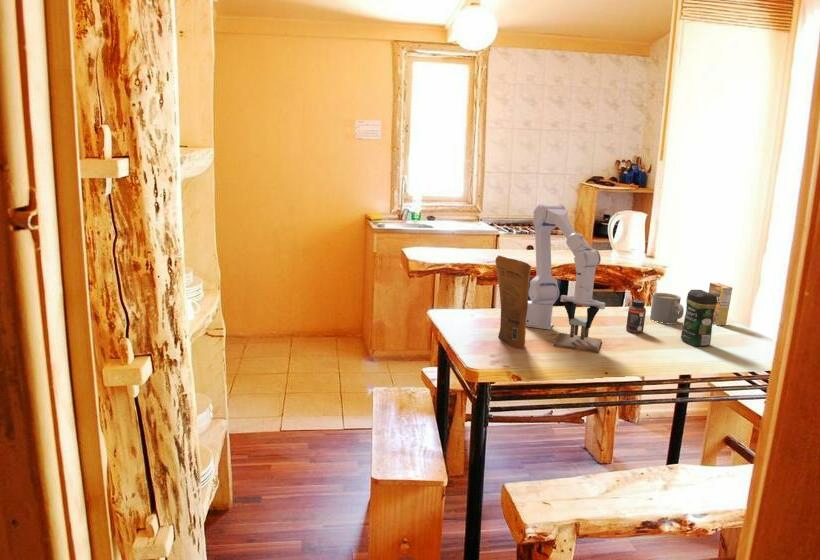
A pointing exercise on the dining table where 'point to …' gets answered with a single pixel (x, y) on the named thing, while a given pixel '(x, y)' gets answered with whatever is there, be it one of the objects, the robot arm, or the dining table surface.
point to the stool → (576, 323)
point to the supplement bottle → (636, 317)
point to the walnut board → (577, 343)
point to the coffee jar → (699, 318)
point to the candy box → (721, 302)
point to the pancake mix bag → (513, 299)
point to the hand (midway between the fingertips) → (579, 326)
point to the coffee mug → (666, 308)
